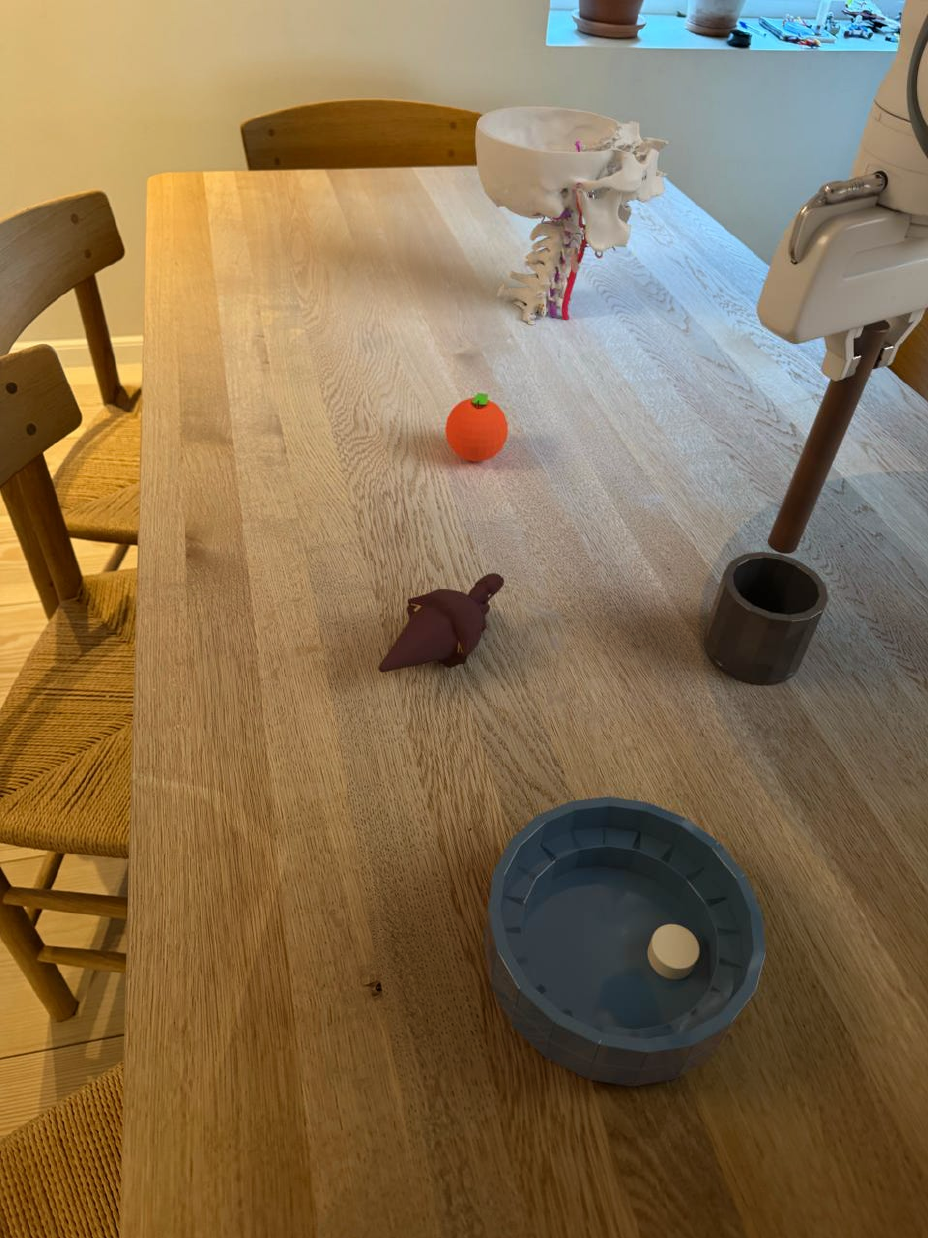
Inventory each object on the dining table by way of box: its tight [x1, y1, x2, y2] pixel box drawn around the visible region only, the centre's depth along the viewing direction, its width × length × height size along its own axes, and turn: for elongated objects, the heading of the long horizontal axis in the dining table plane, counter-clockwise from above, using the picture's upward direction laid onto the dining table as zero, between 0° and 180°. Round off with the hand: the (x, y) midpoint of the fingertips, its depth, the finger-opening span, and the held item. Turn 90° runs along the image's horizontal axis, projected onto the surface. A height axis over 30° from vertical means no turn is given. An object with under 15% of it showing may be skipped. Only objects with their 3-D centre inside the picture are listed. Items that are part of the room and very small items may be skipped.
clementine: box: [444, 392, 509, 462], centre depth 106 cm, size 8×7×7 cm
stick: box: [767, 320, 890, 555], centre depth 72 cm, size 2×2×20 cm
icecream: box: [377, 572, 505, 673], centre depth 83 cm, size 7×7×15 cm
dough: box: [648, 924, 700, 979], centre depth 64 cm, size 3×3×2 cm
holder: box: [703, 551, 829, 686], centre depth 85 cm, size 9×9×8 cm
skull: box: [474, 105, 669, 325], centre depth 129 cm, size 25×19×23 cm
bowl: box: [482, 796, 767, 1087], centre depth 63 cm, size 18×18×6 cm
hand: (855, 369), depth 67 cm, fingers closed on stick, 2 cm apart
